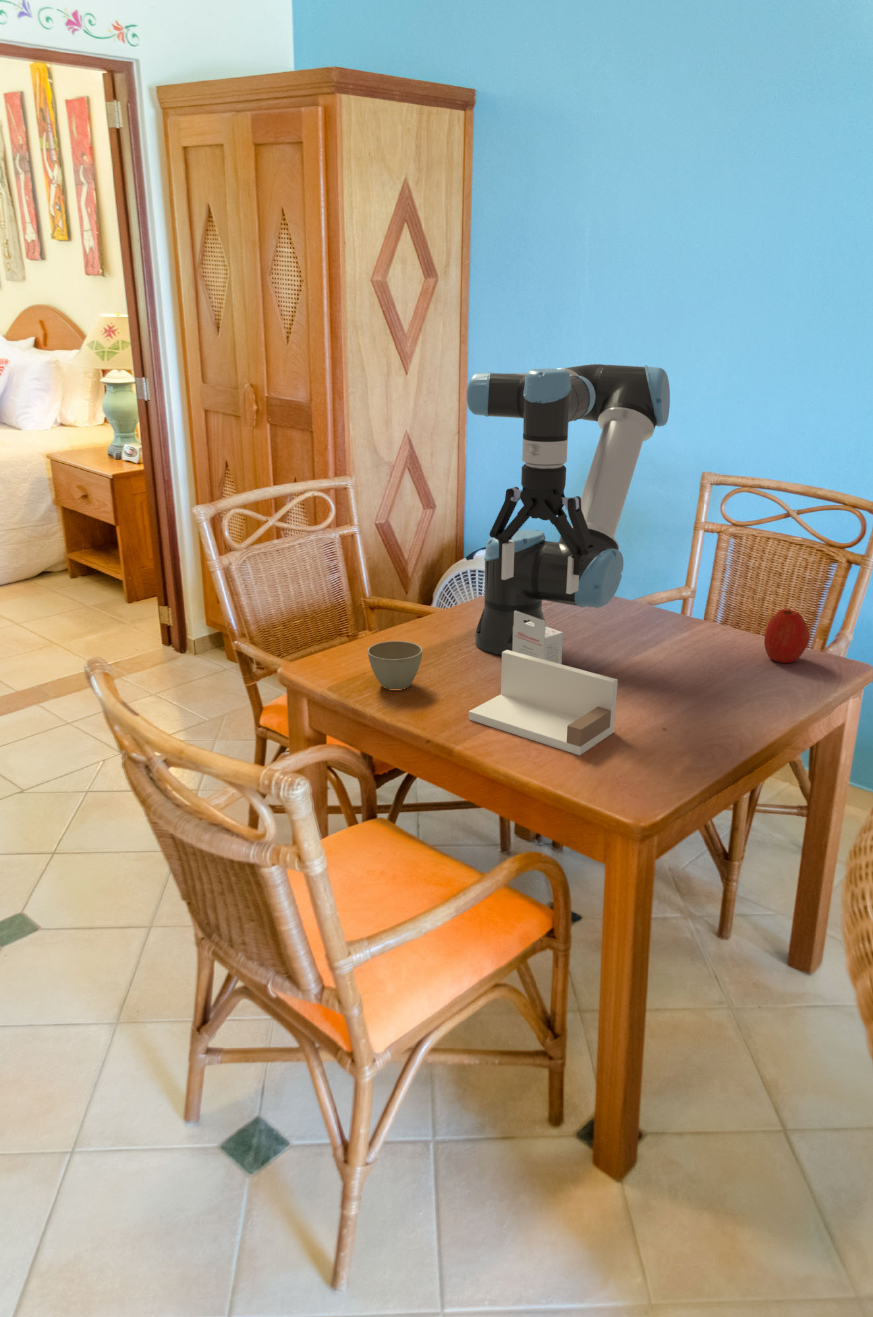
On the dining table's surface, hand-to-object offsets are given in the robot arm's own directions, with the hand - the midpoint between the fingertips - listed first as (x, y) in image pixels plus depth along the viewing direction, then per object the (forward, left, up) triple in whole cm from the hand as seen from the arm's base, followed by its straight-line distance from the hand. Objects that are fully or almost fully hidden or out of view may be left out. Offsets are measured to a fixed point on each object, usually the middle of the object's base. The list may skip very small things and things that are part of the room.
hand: (539, 585), depth 179 cm
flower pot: (-21, -15, -20) cm, 33 cm away
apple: (+30, +43, -20) cm, 56 cm away
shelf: (+9, -13, -20) cm, 25 cm away
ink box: (0, 0, -20) cm, 20 cm away
